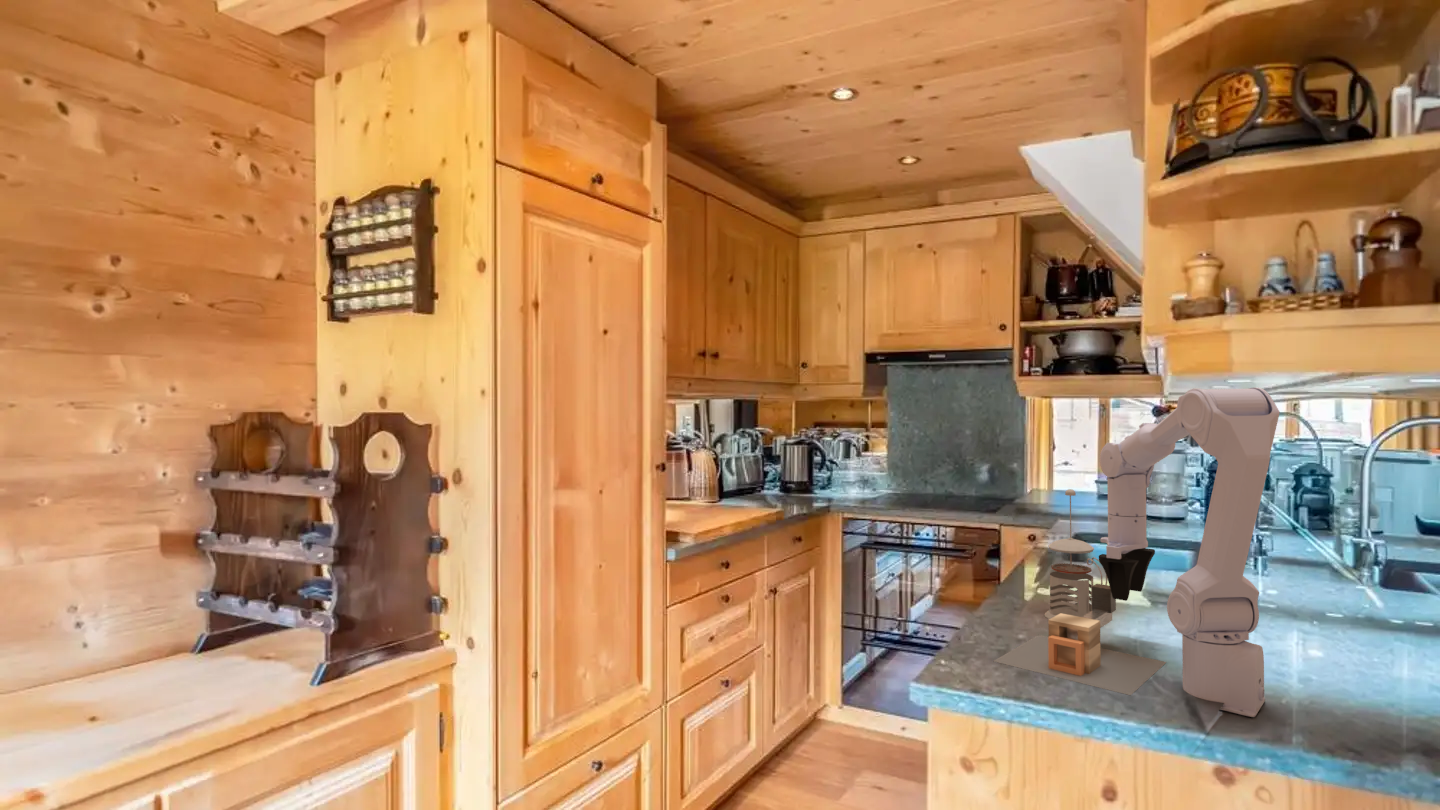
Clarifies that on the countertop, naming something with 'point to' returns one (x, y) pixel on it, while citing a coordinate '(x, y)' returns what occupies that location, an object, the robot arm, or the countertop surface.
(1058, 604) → the french press
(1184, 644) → the robot arm
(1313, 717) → the countertop surface
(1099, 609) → the shaft
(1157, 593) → the countertop surface
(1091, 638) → the bearing block
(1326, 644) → the countertop surface
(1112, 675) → the mounting plate
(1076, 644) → the spacer
